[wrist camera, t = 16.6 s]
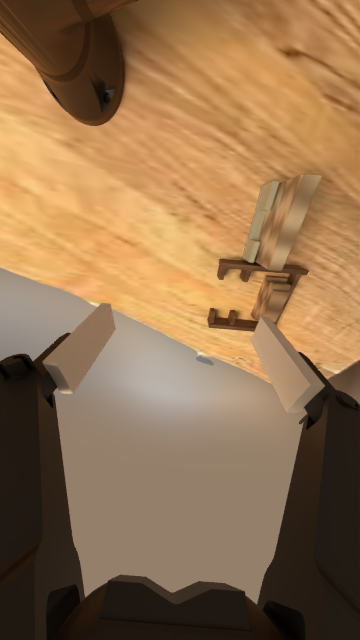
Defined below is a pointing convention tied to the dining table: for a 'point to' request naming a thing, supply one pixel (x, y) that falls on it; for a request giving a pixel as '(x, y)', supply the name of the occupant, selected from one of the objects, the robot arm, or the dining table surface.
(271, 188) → the display stand
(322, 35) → the dining table surface
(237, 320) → the rack
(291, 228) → the plywood sheet
